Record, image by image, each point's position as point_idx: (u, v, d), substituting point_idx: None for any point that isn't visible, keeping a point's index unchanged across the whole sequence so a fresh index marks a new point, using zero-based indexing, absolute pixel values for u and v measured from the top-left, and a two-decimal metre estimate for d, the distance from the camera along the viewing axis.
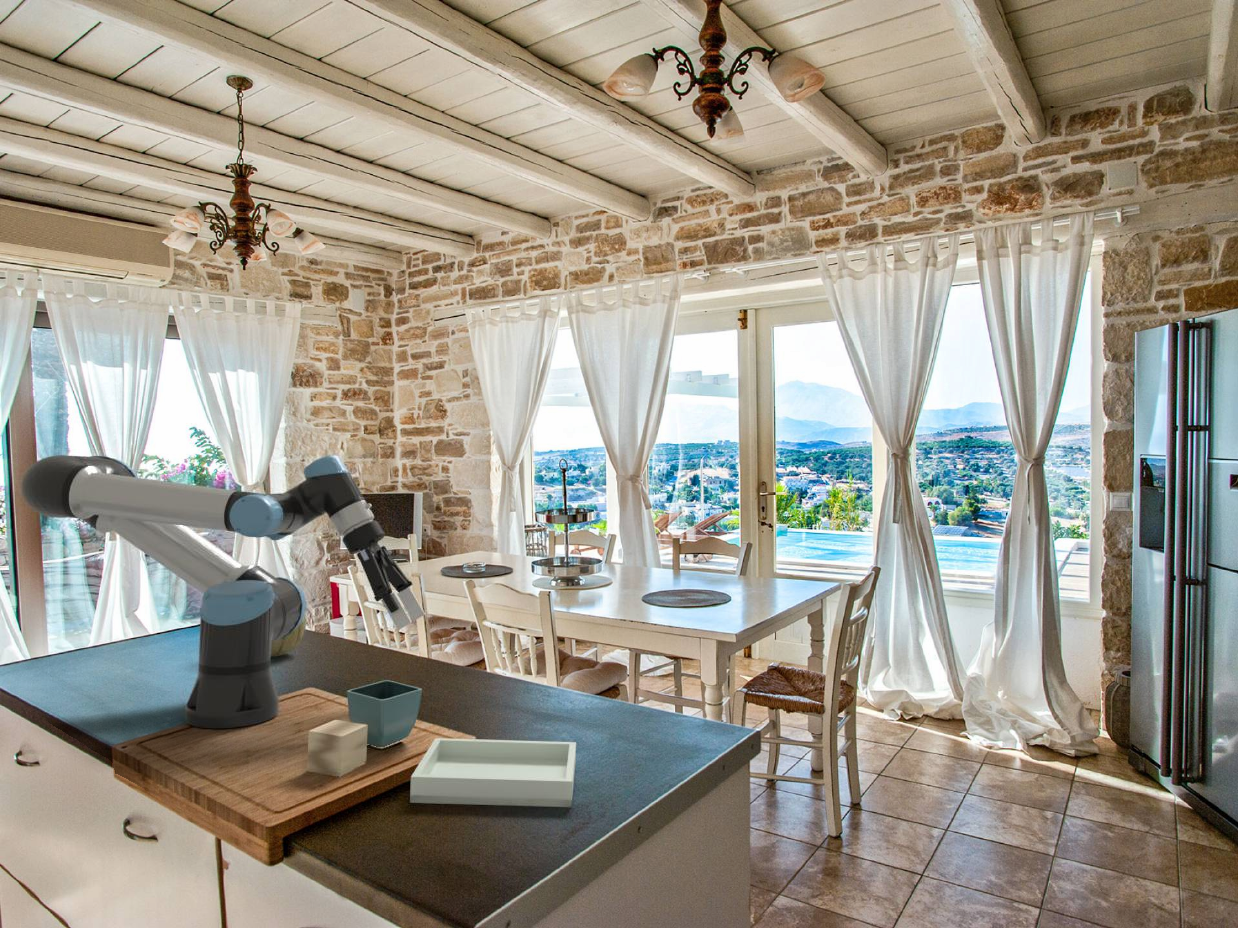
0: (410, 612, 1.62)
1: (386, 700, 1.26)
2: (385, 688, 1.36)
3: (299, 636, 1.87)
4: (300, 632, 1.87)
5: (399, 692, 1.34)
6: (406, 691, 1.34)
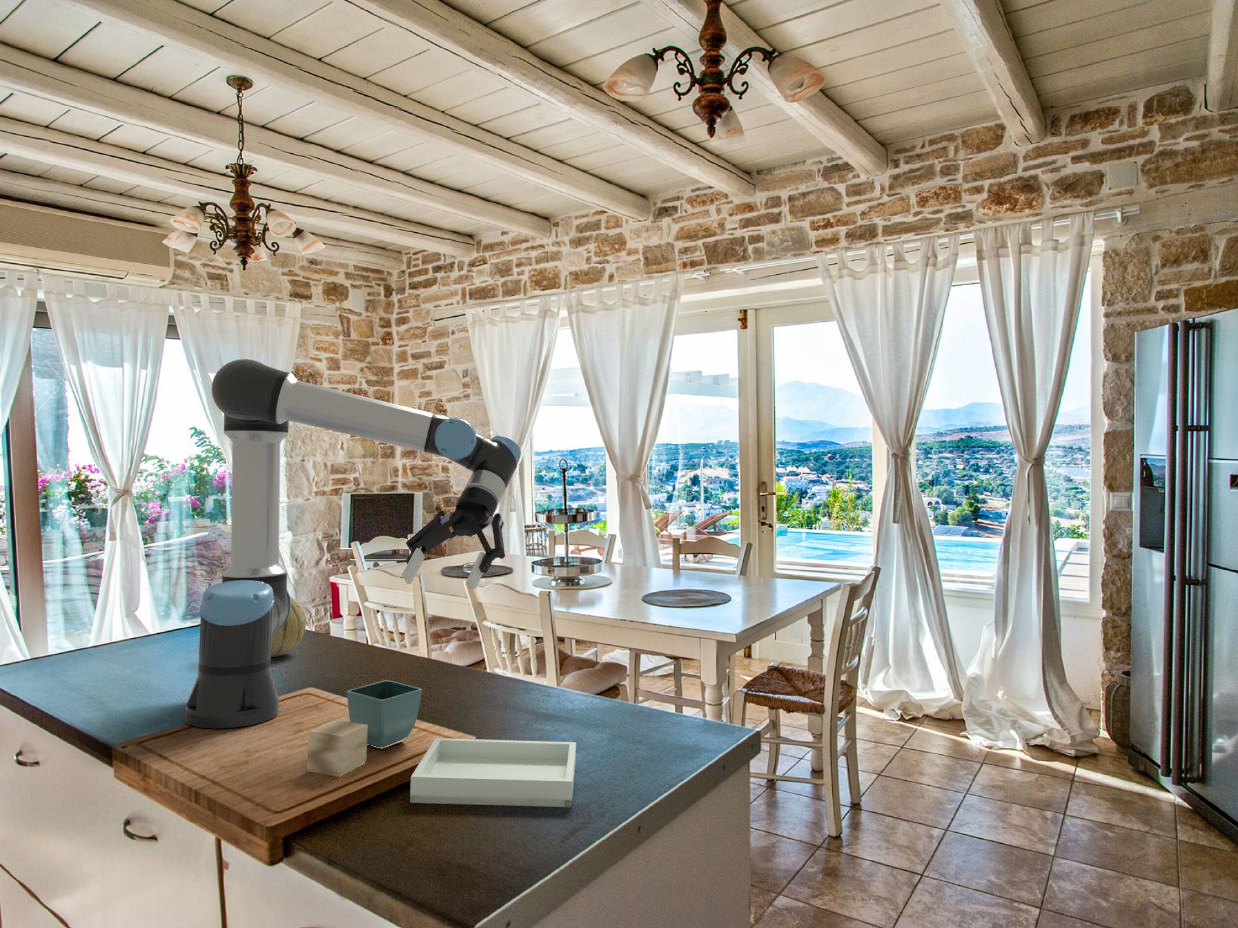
0: (410, 568, 1.47)
1: (386, 700, 1.26)
2: (385, 688, 1.36)
3: (299, 636, 1.87)
4: (300, 632, 1.87)
5: (399, 692, 1.34)
6: (406, 691, 1.34)
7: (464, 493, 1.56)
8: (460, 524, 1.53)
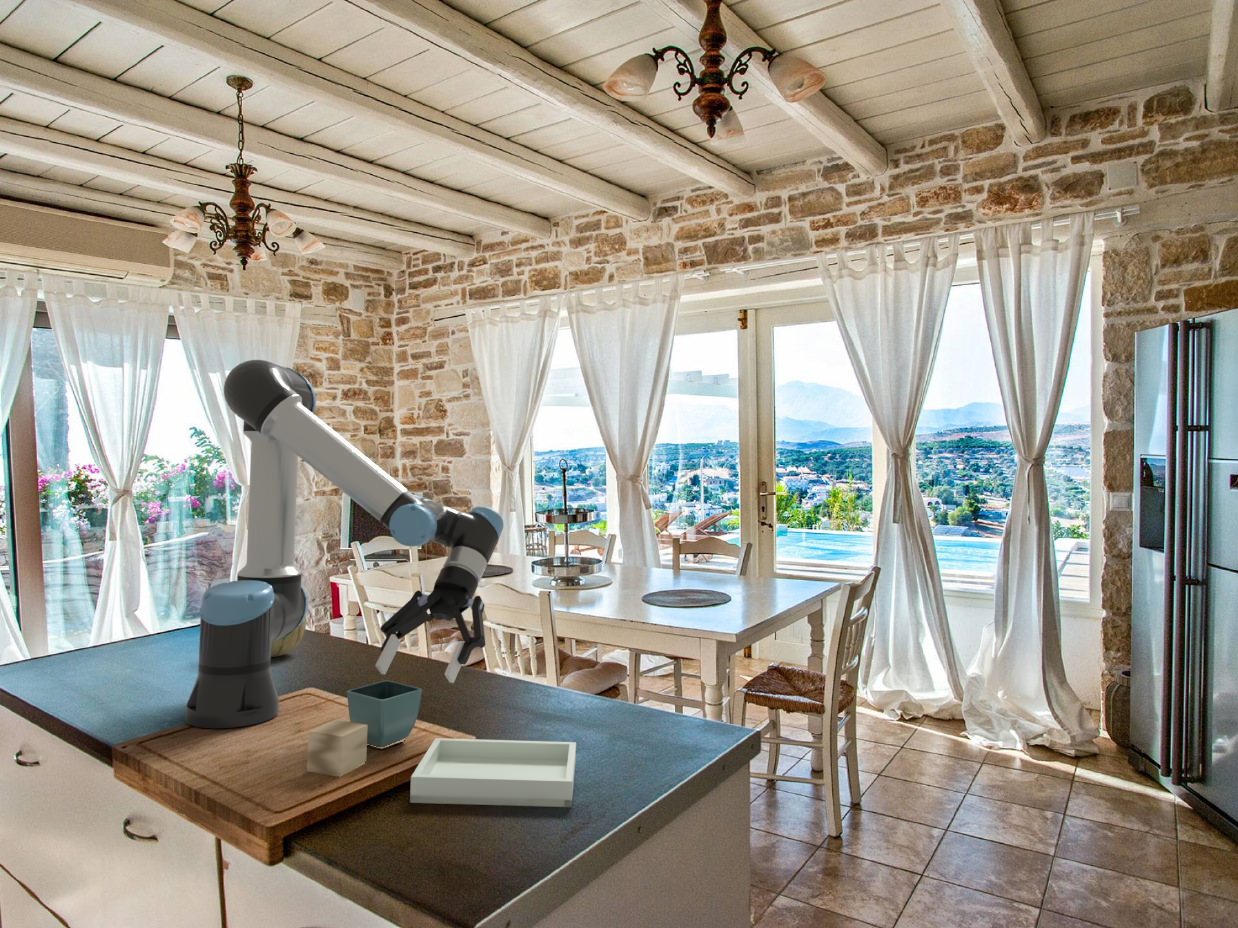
0: (384, 658, 1.39)
1: (386, 700, 1.26)
2: (385, 688, 1.36)
3: (299, 636, 1.87)
4: (300, 632, 1.87)
5: (399, 692, 1.34)
6: (406, 691, 1.34)
7: (443, 573, 1.47)
8: (438, 607, 1.45)
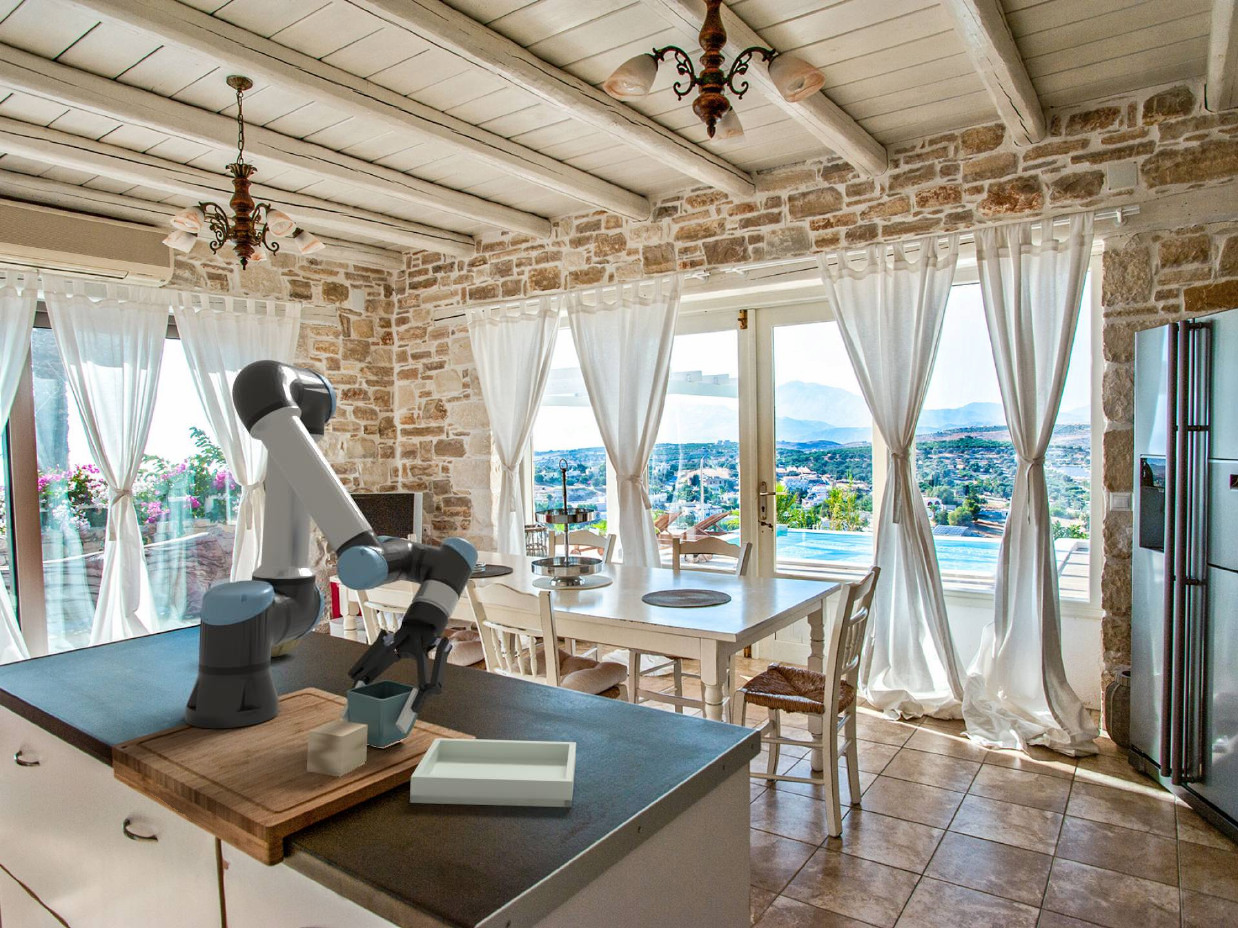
0: None
1: (386, 700, 1.26)
2: (385, 688, 1.36)
3: None
4: None
5: (399, 692, 1.34)
6: (406, 691, 1.34)
7: (410, 609, 1.40)
8: (405, 645, 1.37)
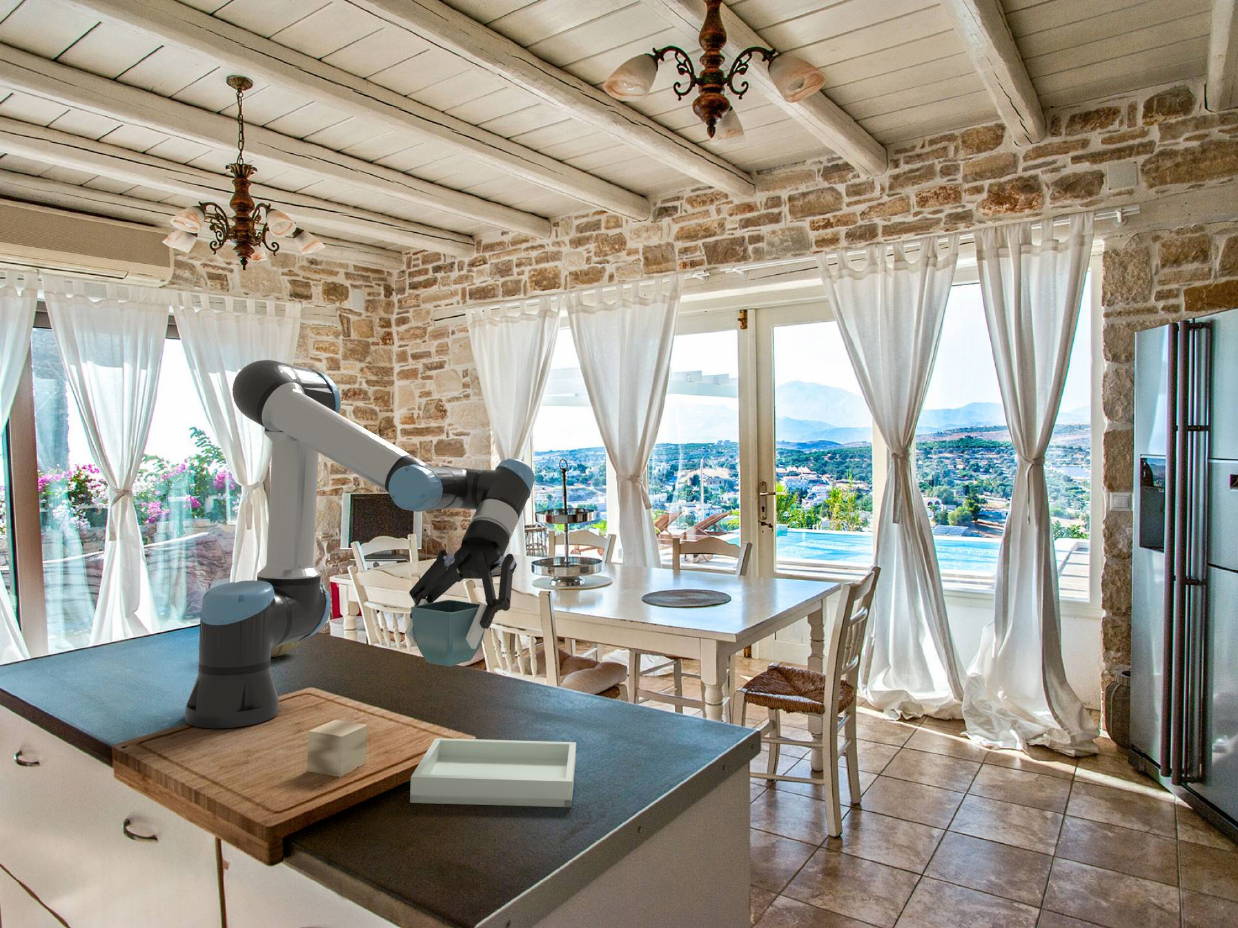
0: None
1: (455, 613, 1.20)
2: (448, 607, 1.30)
3: None
4: None
5: None
6: (471, 609, 1.28)
7: (471, 527, 1.34)
8: (467, 563, 1.31)
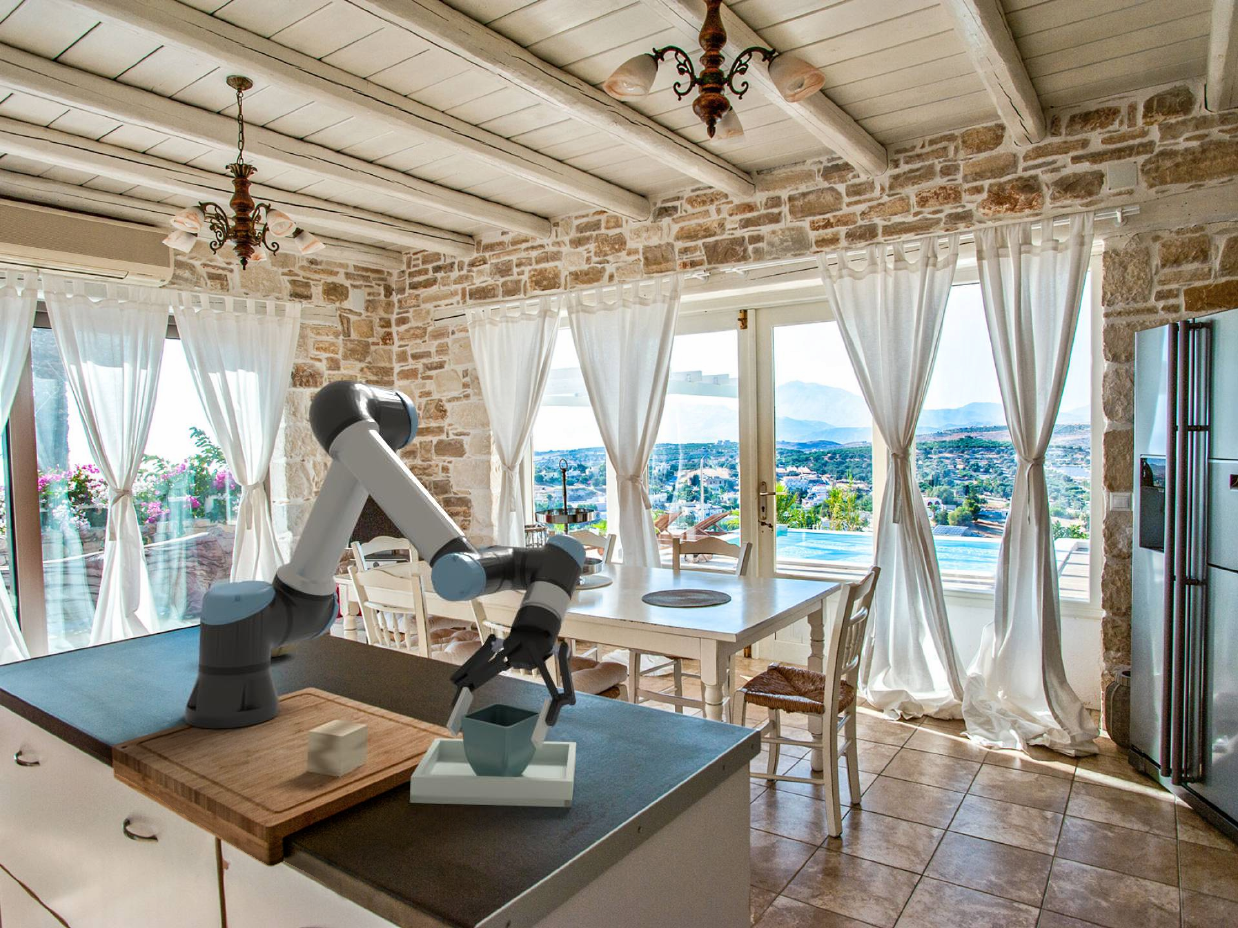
0: (456, 716, 1.17)
1: (511, 727, 1.11)
2: (496, 712, 1.21)
3: None
4: None
5: (514, 717, 1.20)
6: (523, 715, 1.19)
7: (521, 613, 1.25)
8: (518, 654, 1.23)
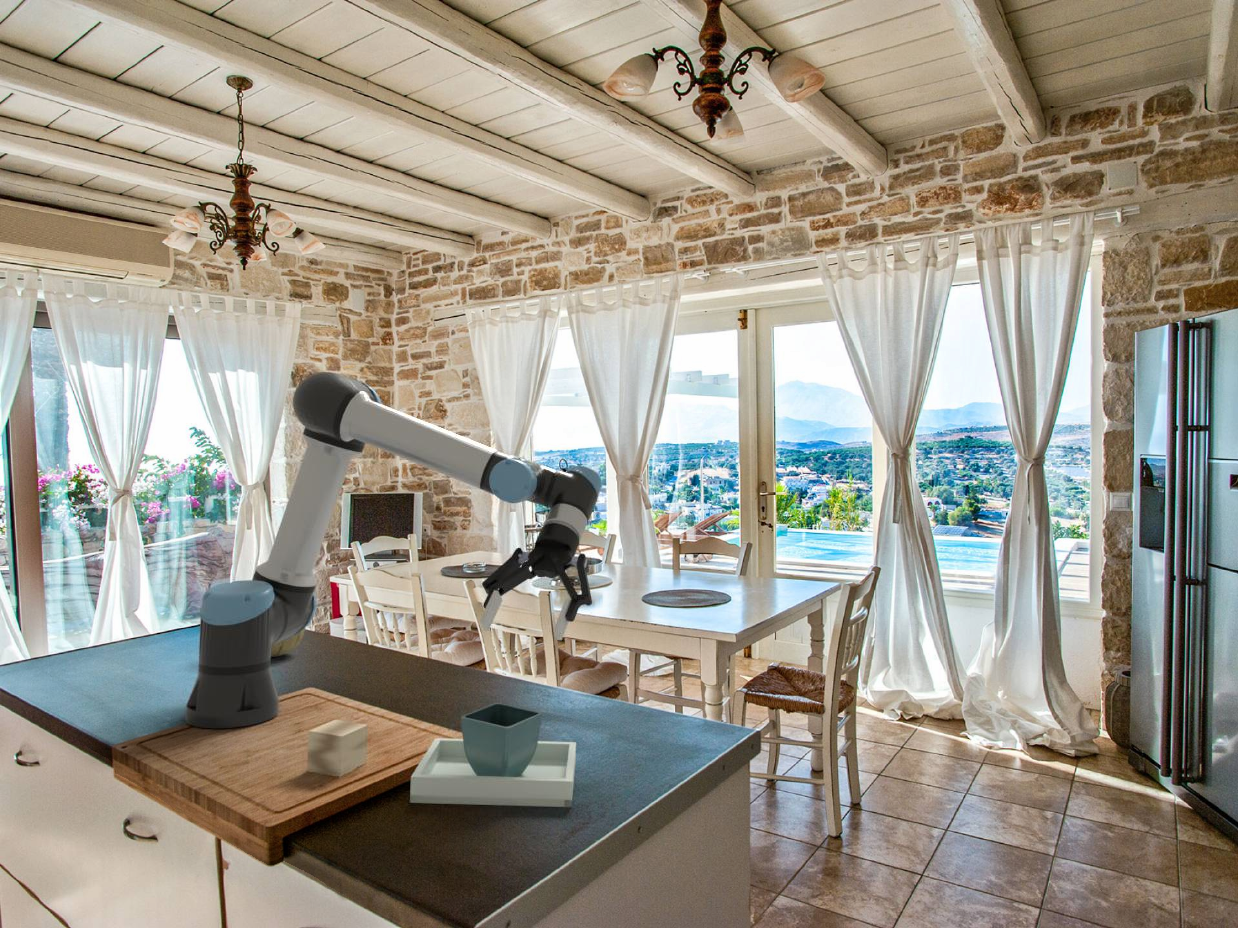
0: (488, 614, 1.35)
1: (511, 727, 1.11)
2: (496, 712, 1.21)
3: (299, 636, 1.87)
4: (300, 632, 1.87)
5: (514, 717, 1.20)
6: (522, 715, 1.19)
7: (545, 530, 1.43)
8: (541, 564, 1.40)
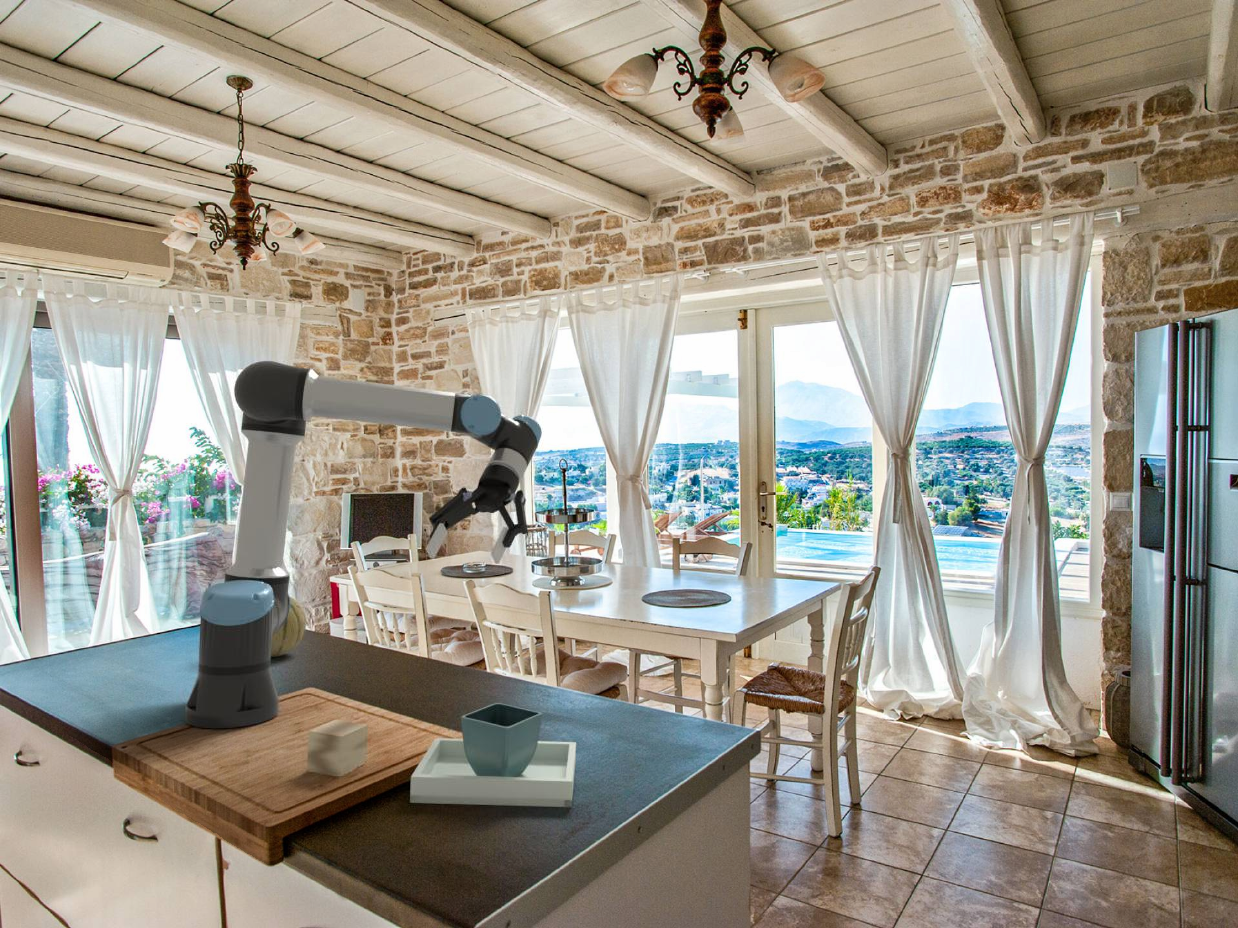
0: (433, 543, 1.49)
1: (511, 727, 1.11)
2: (496, 712, 1.21)
3: (299, 636, 1.87)
4: (300, 632, 1.87)
5: (514, 717, 1.20)
6: (523, 715, 1.19)
7: (487, 470, 1.58)
8: (483, 500, 1.55)
